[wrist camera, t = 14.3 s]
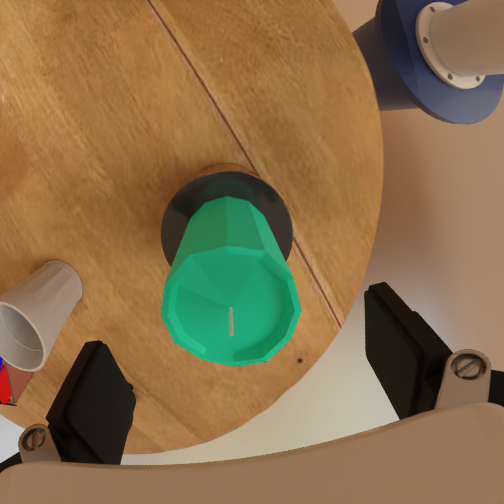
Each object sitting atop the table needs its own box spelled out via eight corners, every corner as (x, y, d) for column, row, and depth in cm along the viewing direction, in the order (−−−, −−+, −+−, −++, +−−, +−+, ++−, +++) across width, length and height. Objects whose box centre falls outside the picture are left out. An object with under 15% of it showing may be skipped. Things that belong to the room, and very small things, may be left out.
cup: (100, 289, 35) (60, 350, 24) (66, 323, 36) (26, 382, 25) (55, 240, 32) (-2, 284, 21) (25, 278, 33) (-27, 327, 22)
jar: (263, 150, 31) (280, 157, 21) (280, 240, 34) (302, 281, 25) (169, 172, 31) (145, 189, 21) (193, 260, 34) (182, 307, 25)
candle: (284, 249, 24) (333, 348, 13) (215, 289, 25) (211, 407, 13) (242, 179, 22) (260, 228, 11) (169, 225, 23) (122, 312, 11)
